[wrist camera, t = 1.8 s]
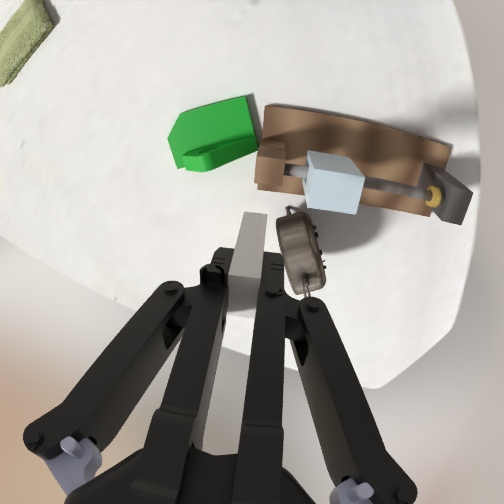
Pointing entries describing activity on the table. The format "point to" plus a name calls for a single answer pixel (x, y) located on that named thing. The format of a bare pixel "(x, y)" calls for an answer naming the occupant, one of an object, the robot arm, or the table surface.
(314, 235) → the alarm clock
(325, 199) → the light blue block
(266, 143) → the wooden slider rail stand
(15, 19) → the washcloth
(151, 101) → the table surface
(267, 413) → the robot arm
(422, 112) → the table surface
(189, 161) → the bracket
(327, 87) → the table surface
